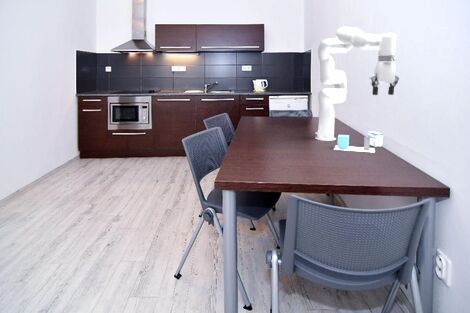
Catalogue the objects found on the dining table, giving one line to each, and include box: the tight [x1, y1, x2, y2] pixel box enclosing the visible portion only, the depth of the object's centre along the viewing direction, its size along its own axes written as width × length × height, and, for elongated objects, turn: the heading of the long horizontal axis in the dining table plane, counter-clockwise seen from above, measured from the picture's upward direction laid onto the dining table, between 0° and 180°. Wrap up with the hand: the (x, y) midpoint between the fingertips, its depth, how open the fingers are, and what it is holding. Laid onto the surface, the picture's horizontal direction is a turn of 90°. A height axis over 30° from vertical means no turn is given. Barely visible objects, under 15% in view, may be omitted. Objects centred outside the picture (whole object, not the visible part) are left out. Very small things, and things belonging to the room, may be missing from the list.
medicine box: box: [366, 131, 384, 148], centre depth 209 cm, size 8×4×9 cm, turn 21°
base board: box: [333, 145, 376, 153], centre depth 199 cm, size 20×12×2 cm, turn 71°
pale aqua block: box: [336, 134, 350, 149], centre depth 200 cm, size 5×5×7 cm
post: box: [363, 135, 371, 150], centre depth 196 cm, size 3×3×7 cm
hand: (382, 94), depth 190 cm, fingers open, 9 cm apart
